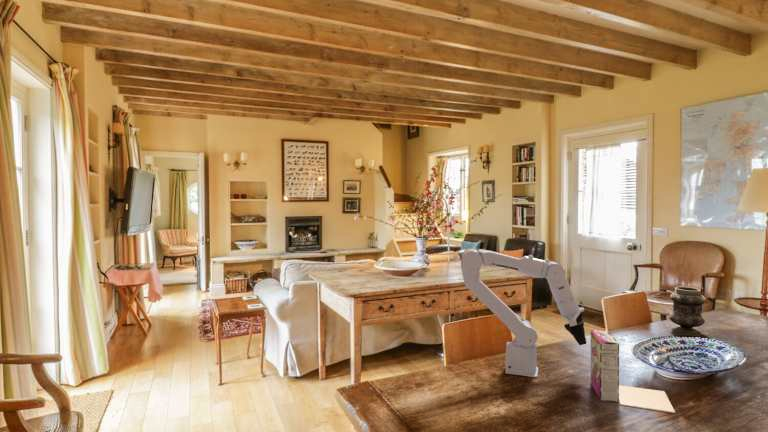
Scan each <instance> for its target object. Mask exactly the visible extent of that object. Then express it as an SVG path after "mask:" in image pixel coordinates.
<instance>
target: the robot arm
mask: <svg viewBox="0 0 768 432" xmlns="http://www.w3.org/2000/svg"><path fill="white" fill-rule="evenodd" d="M492 264H495V265H500V266H505V267H509V268H514V269H518V271H519V273H520V274H523V275H527V276H531V277H534V278H539V279H543V278H544V279H546V280H547V284H548V286H549V289H550V292H551V294H552V296H553V299H554V301H555V303H556V306H557V307H558V311H559V313H560V316H561V318H562V319H564V320H565V321H567V322H568V323H566V324H564V325H563V326H564V328H565V330H566V331H568V333H570V335H572V336H573V338H574V340H575V341H576V343H577V344H578V345H579V346H583V345H586V344H587V339H586V332H585V326H584V325H585V321H584V320H583V312H584V311H585V308H584V307H583V306H581V307H579V305H578V302H577V300H576V297H575V295H574V292H573V290H572V288H571V286H570V283H569V281H567V277H566V270H565V269H564V268H563V266H562V265H560V264H559V263H557V262H555V261H553V260H549V259H547V258H545V259H539V258H536V257H534V256H533V254H528V255H524V256H522V257H520V258H519V257H516V256H511V255H508V254H503V253H500V252H497V251H493V250H489V249H488V250H487V249H483V248H482V249H481V248H475V247H469V248H466V249H465V250H463V251H462V253H461V260H460V268H461V274H462V278H463V282H464V286H465V287H466V289H468V290H469V291H470V292H471V293H472V294H473V295H474V296H475V297H476V298H477V299H478V300H479V301H480V302H481V303H482V304H484V305H485V306H486V308H488V309H489V311H491V312H492V313H493V314H494V315H495V316H496V317H497V318H498V319H499V320H500V321H501V322H502V323H503V324H504V325H505V326H506V327H507V328H508V330H509V331H510V332H511V333H512V334H513V335H514V339H513V340H512V341H507V342H506V345H505V364H504V365H505V372H504V373H505V374H509V375H515V376H523V377H531V378H538V374H539V367H538V366H537V363H538V362H537V356H538V353H537V348H538V347H537V346H538V345H537V342H538V333H537V332H536V330H535V329H534V327H533V324H532V323H531V322H530V321H529V320H528V319H524V318H523V317H521V316H520V315H518V314H517V313H515V312H514V311H513V310H512V309H511V308H510V307H509V306H508V305H507V304H506V303H505V302H504V301H503V300H502V299H501V298H500V297H499V296H497V294H495V292H493V290H491V289H490V287H489V286H487V285H486V284H485V283H484V282H483V281H482V280H481V279H480V271H481V268H482V265H483V266H484V267H487V266H490V265H492Z"/></svg>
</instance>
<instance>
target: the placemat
mask: <svg viewBox="0 0 768 432" xmlns="http://www.w3.org/2000/svg"><path fill="white" fill-rule="evenodd" d="M618 403H619V405H620V406H624V407H631V408H637V409H643V410H651V411H659V412H662V413H663V412H665V413H671V414H676V411H675V409H674V407H673V405H672V404H671V401H670V399H669V397H668V395H667V394H666V392H665V390H658V389H652V388H643V387H635V386H628V385H620V384H619V402H618Z"/></svg>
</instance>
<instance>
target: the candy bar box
mask: <svg viewBox="0 0 768 432" xmlns="http://www.w3.org/2000/svg"><path fill="white" fill-rule="evenodd" d="M619 385H620V343H619V342H618V341H617V339H616V338H614V336H613V335H612V334H611V333H610V332H609V330H608V331H607V330H599V329H598V330H596V329H592V330H591V329H590V386H592V388H593V390H594V392H595V393H596V395H597V397H598V398H599V400H600V401H601V402H612V403H620V402H619Z"/></svg>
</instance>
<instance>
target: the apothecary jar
mask: <svg viewBox="0 0 768 432" xmlns="http://www.w3.org/2000/svg"><path fill="white" fill-rule="evenodd" d="M669 297H670V300H671V301H672V302H673V304H672V311H670V313H669V314H668V319H669V320H670V321H671V322H672V323H673V324H675V325H679V326H676V327H674V328H671V331H672V332H673V333H676V334H679V335H682V336H683V335H684V336H689V337H690V336H694V337H695V336H696V337H698V336H701V335H702V333H701V331H699V330H697V329H695V328H698V327H700V326H703V325H704V324H705V322H706V320H705V317H704V316H703V315H702V305H703V304H704V303H705V302H706V298H705V296H704V295H703V294H702V291H701V289H700V288H697V287H692V286H691V287H690V286H683V285H682V286H681V285H680V286H675V288H674V291H673V292H671V293H670V295H669Z"/></svg>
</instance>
